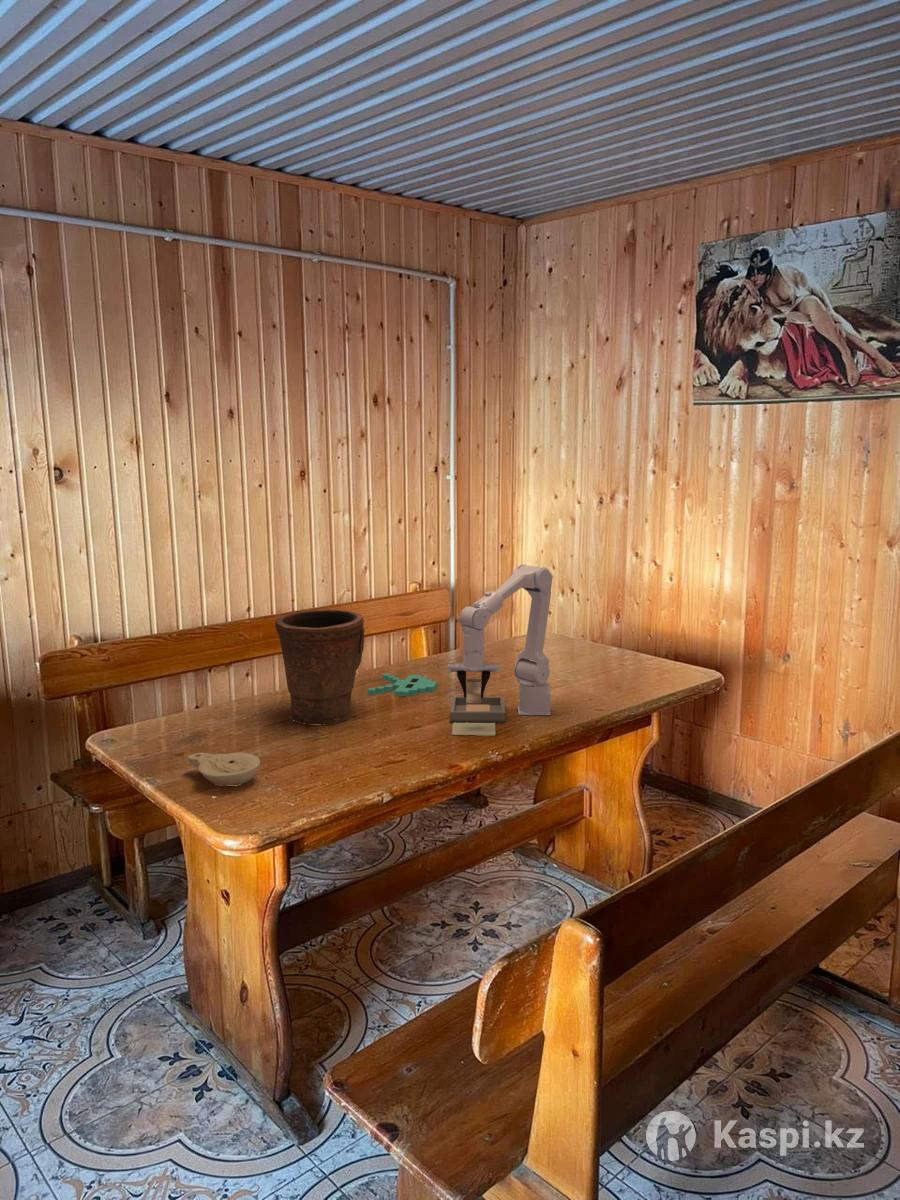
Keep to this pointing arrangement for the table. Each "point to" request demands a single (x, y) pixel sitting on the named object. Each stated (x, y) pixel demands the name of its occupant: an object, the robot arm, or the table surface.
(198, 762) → the oil lamp
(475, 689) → the brown block
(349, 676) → the clay pot
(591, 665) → the table surface
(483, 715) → the box
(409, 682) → the alien figure
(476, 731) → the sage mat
